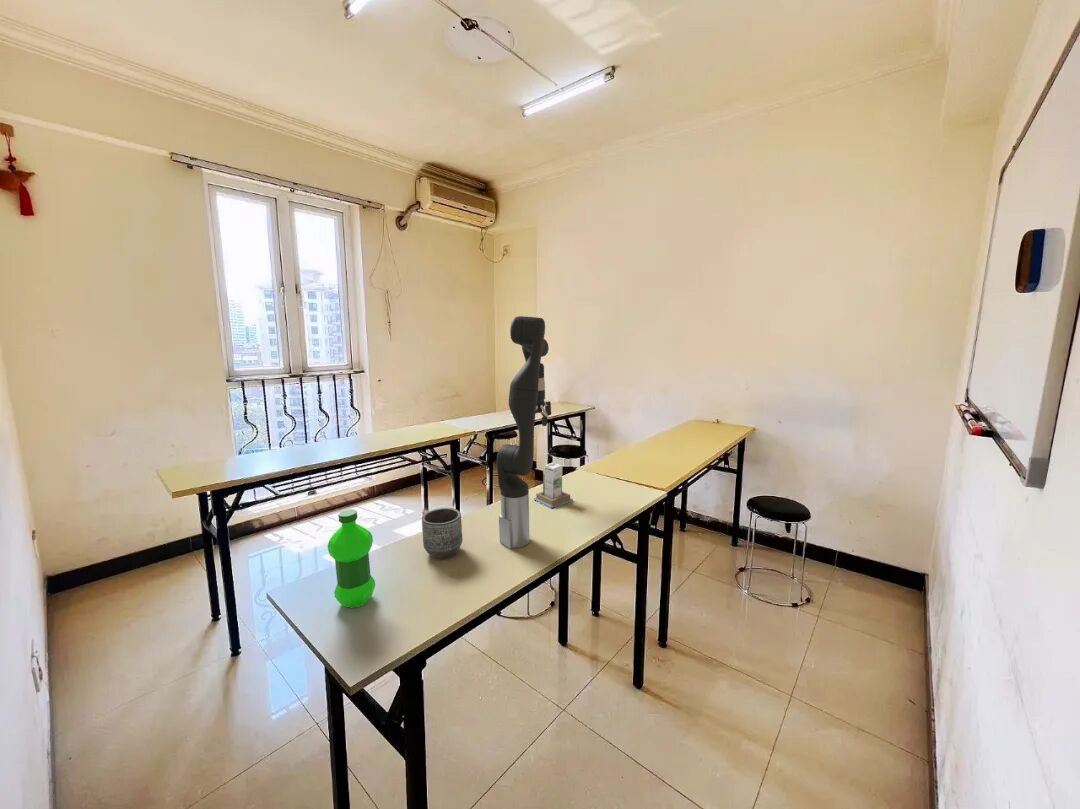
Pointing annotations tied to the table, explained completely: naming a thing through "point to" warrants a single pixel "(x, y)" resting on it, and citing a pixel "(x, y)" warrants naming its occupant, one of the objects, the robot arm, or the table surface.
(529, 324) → the robot arm
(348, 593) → the plastic bottle
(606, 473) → the table surface
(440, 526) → the planter
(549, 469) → the syrup box
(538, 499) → the footing plate
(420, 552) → the table surface
